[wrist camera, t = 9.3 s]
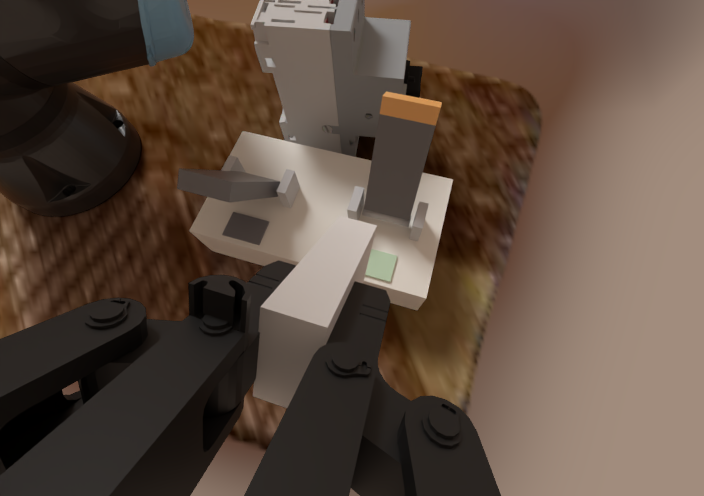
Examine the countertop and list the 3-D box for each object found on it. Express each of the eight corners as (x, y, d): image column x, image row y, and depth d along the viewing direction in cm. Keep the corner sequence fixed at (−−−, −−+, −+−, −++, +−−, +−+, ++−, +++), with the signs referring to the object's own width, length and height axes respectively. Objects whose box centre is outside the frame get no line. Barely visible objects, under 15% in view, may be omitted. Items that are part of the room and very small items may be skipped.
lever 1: (242, 185, 31) (175, 188, 23) (244, 171, 31) (177, 168, 22) (283, 196, 31) (230, 203, 22) (285, 181, 30) (233, 182, 22)
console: (212, 251, 34) (173, 218, 27) (257, 160, 39) (233, 112, 32) (417, 310, 31) (432, 290, 24) (441, 205, 36) (460, 162, 29)
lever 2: (360, 218, 29) (380, 95, 22) (364, 210, 30) (384, 91, 23) (407, 230, 28) (442, 107, 22) (409, 221, 29) (443, 102, 23)
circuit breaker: (407, 162, 38) (432, 37, 24) (288, 150, 39) (247, 24, 25) (412, 113, 41) (438, -25, 27) (301, 103, 42) (270, -34, 28)
